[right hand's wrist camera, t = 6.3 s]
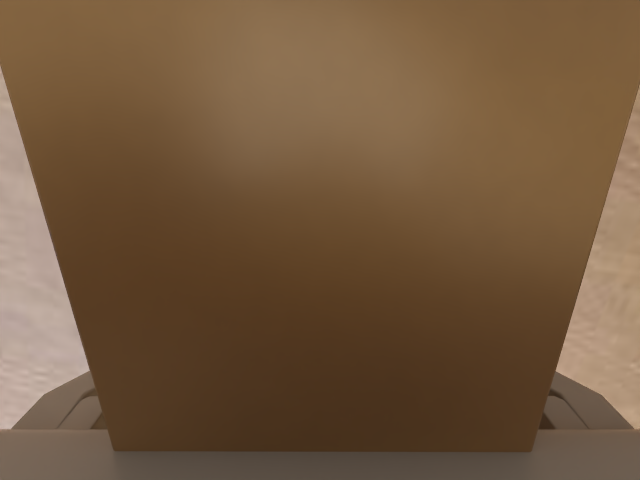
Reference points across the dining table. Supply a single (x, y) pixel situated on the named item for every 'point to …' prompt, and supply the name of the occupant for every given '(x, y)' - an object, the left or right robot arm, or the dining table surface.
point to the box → (322, 208)
